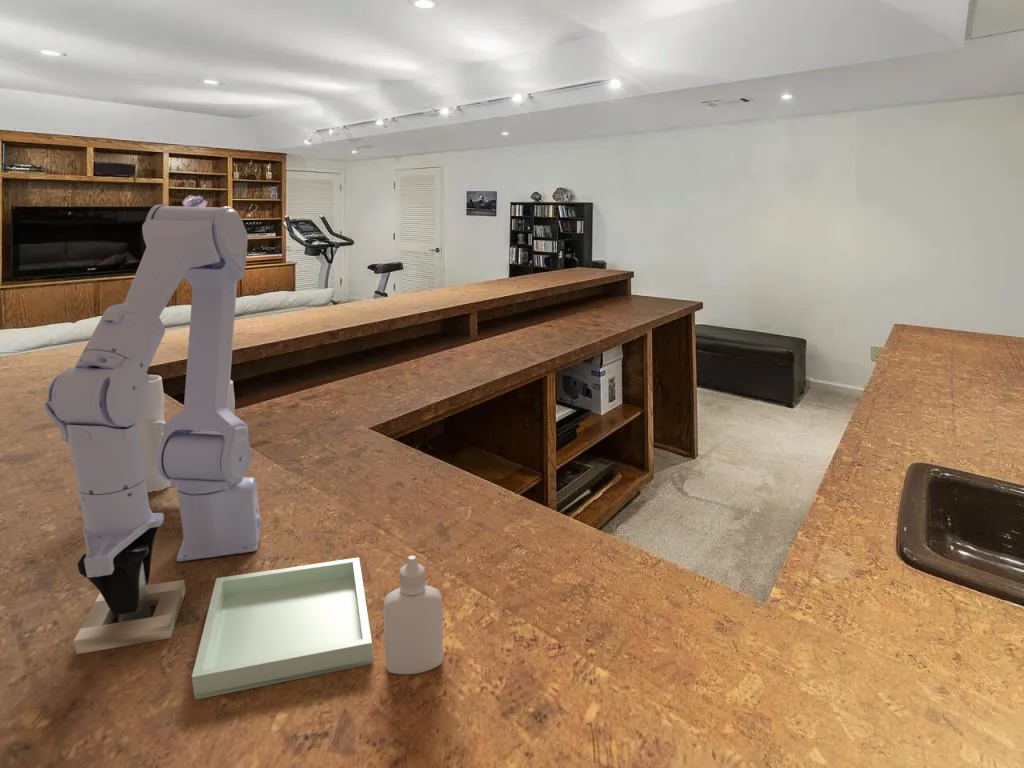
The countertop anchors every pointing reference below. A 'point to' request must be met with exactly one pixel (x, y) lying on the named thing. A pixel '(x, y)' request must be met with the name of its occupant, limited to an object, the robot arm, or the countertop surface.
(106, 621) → the pin collar
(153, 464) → the binoculars
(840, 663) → the countertop surface
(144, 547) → the pin
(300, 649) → the tray
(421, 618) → the eye dropper bottle
